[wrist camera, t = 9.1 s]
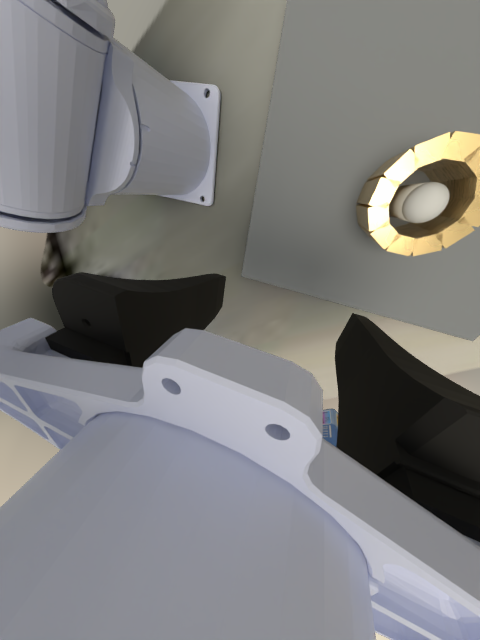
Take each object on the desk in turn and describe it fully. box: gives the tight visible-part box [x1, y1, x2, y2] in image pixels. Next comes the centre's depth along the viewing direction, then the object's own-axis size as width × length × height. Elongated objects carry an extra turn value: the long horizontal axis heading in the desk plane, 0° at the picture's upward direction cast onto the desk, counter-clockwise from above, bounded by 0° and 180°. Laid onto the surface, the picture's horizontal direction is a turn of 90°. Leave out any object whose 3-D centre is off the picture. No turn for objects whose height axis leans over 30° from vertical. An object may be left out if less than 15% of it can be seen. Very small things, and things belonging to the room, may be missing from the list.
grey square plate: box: [241, 0, 480, 341], centre depth 13 cm, size 22×18×6 cm
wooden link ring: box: [356, 131, 480, 256], centre depth 13 cm, size 6×6×5 cm
